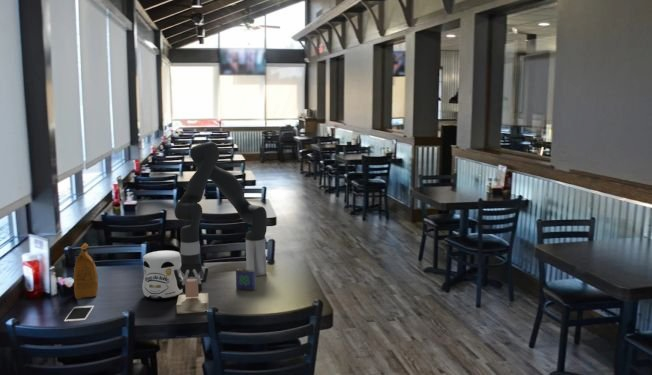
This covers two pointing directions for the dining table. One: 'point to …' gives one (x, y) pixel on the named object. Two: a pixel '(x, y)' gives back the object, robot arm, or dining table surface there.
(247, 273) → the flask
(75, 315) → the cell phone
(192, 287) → the terracotta block
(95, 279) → the coffee package
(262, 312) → the dining table surface
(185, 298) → the maple base
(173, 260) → the milk container
